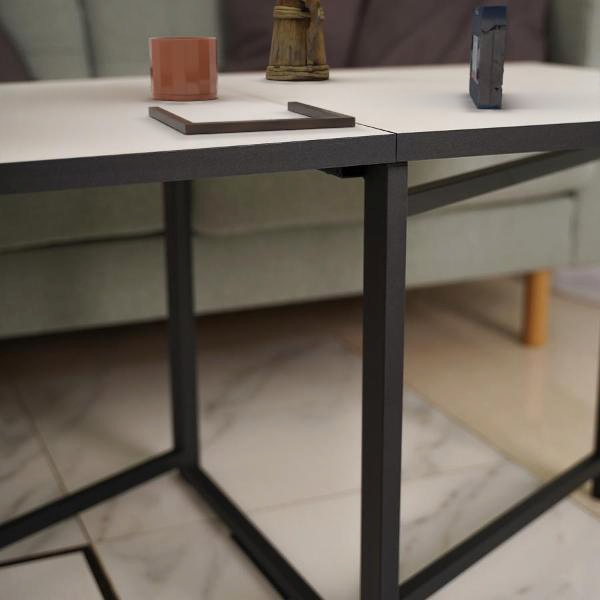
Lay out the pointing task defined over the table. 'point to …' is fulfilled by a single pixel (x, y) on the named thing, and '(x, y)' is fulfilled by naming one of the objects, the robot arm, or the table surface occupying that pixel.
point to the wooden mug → (298, 42)
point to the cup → (183, 68)
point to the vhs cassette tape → (487, 55)
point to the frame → (258, 121)
